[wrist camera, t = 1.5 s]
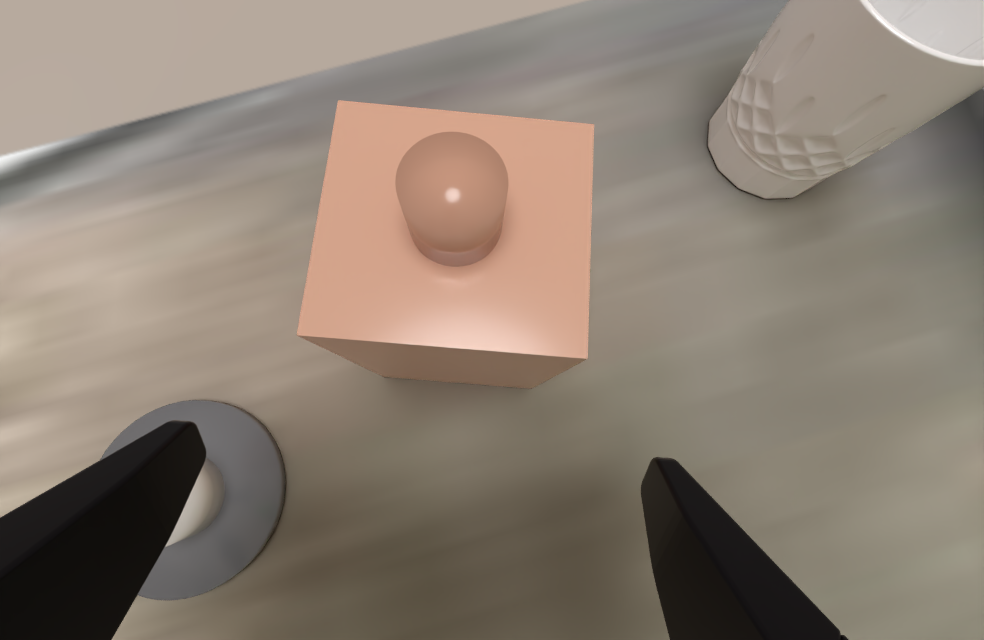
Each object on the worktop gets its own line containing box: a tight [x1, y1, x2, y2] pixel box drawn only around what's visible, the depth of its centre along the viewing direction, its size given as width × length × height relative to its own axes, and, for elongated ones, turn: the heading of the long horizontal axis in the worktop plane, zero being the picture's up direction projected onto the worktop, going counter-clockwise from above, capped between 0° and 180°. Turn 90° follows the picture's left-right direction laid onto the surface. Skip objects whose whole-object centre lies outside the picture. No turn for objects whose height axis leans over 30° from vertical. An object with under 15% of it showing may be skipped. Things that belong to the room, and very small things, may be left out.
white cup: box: [708, 0, 984, 199], centre depth 20 cm, size 8×8×10 cm
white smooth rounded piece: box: [165, 458, 225, 547], centre depth 18 cm, size 3×3×2 cm
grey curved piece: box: [100, 400, 285, 600], centre depth 19 cm, size 8×8×1 cm
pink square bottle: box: [297, 100, 594, 389], centre depth 16 cm, size 6×7×13 cm
